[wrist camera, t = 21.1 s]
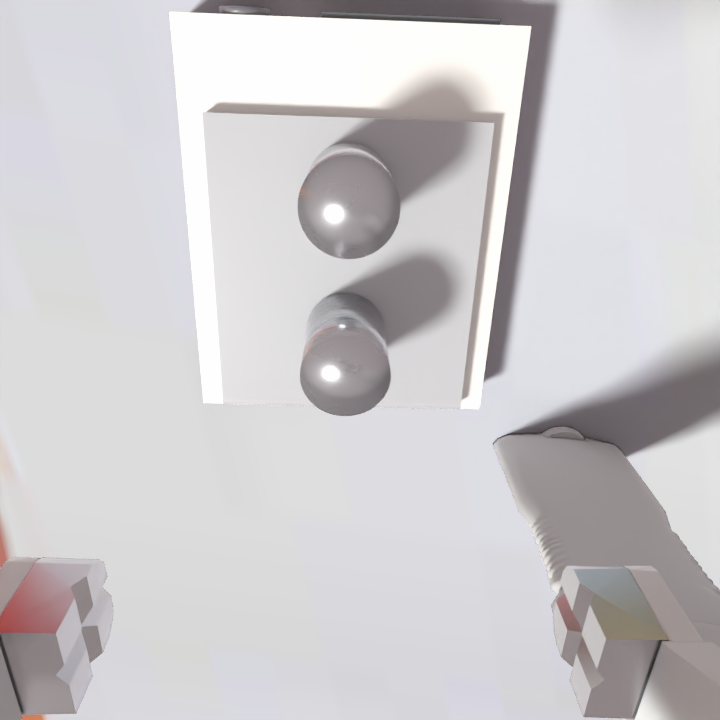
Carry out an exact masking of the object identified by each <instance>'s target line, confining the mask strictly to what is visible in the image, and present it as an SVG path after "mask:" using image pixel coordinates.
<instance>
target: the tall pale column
mask: <svg viewBox="0 0 720 720" xmlns="http://www.w3.org/2000/svg"><path fill="white" fill-rule="evenodd" d="M493 446H494V450H495V452H496V455H497V457H498V460H499V462H500V465H501V467H502V470H503V472H504V475H505V478H506V480H507V483H508V485H509V488H510V490H511V493H512V495H513V498H514V500H515V503H516V506H517V508H518V511H519V512H520V513H521V515H522V516H523V517H524V518H525V520H526V521H527V522H528V523H529V525H530V526H531V527H532V528H531V533H532V534H533V535H534V536H533V537H534V539H535V543H536V544H537V545H538V549H539V552H540V554H541V558H542V560H543V564H544V565H545V566H546V571H547V572H548V573H547V577H548V578H549V579H550V582H549V583H550V586H551V590H552V591H553V592H554V593H555V594H556V595H557V596H556V598H555V600H554V601H553V603H552V604H551V607H552V611H553V613H554V608H555V603H556V600H557V599H559V598H560V597H561V596H562V595H563V594H564V590H563V588H562V585H561V583H560V581H561V577H562V573H563V571H564V569H565V568H566V566H621V567H622V566H652V567H653V568H655V569H656V570H657V571H658V572H659V574H660V576H661V577H662V579H663V580H664V582H665V583H666V585H667V586H668V588H669V590H670V591H671V593H672V594H673V596H674V597H675V599H676V600H677V602H678V604H679V605H680V607H681V608H682V610H683V611H684V613H685V614H686V616H687V618H688V619H689V621H690V622H691V624H692V625H693V627H694V629H695V630H696V632H697V633H698V635H699V636H700V638H701V639H702V641H703V642H712V643H714V644H715V645H717V646H718V647H720V590H719V589H718V588H717V587H716V586H715V585H713V581H712V580H711V579H709V578H708V577H707V574H706V573H705V572H703V571H702V567H701V566H700V565H698V562H697V561H696V560H695V559H694V557H693V556H692V555H691V554H690V552H689V551H688V550H687V547H686V546H685V545H684V544H683V542H682V541H681V540H680V538H679V536H678V535H677V534H676V533H674V532H673V531H672V530H671V527H670V524H669V521H668V518H667V515H666V512H665V510H664V509H663V507H662V506H661V505H660V503H659V502H658V500H657V499H656V498H655V496H654V495H653V494H652V492H651V491H650V489H649V488H648V487H647V485H646V484H645V483H644V481H643V480H642V478H641V477H640V476H639V474H638V473H637V472H636V470H635V469H634V468H633V466H632V465H631V464H630V462H629V461H628V459H627V458H626V457H625V455H624V454H623V453H622V451H621V450H620V449H619V448H618V447H616V446H615V445H614V444H611V443H607V442H602V441H598V440H594V439H589V438H585V437H584V438H583V436H582V435H581V434H580V432H578V431H576V430H575V429H573V428H569V427H554V428H551V429H548V430H546V431H545V432H543V433H533V434H508V435H505V436H503V437H500V438H498V439H497V440H496V441H495V442H494V443H493ZM622 720H635V719H625V718H622Z"/></svg>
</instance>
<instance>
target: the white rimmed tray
mask: <svg viewBox="0 0 720 720" xmlns="http://www.w3.org/2000/svg"><path fill="white" fill-rule="evenodd" d="M169 15H170V27H171V38H172V50H173V61H174V73H175V84H176V95H177V107H178V118H179V130H180V141H181V152H182V164H183V175H184V187H185V198H186V210H187V221H188V232H189V244H190V255H191V267H192V278H193V290H194V301H195V312H196V324H197V335H198V347H199V358H200V369H201V381H202V392H203V403H223V404H238V405H283V406H315V405H314V404H312V403H311V402H310V400H309V399H308V398H307V397H306V395H305V393H304V391H303V389H302V386H301V382H300V369H301V362H302V355H303V348H304V341H305V334H306V326H307V321H308V317H309V315H310V313H311V311H312V309H313V308H314V307H315V306H316V305H317V304H318V303H319V302H320V301H321V300H323V299H324V298H326V297H328V296H331V295H333V294H337V293H353V294H357V295H360V296H362V297H364V298H366V299H368V300H369V301H371V302H372V303H373V304H374V305H375V306H376V307H377V309H378V310H379V312H380V314H381V316H382V319H383V323H384V330H385V336H386V343H387V350H388V356H389V363H390V370H391V381H390V386H389V389H388V391H387V393H386V395H385V396H384V398H383V399H382V400H381V401H380V402H379V403H378V404H377V405H376V406H375V407H373V408H417V409H480V402H481V395H482V388H483V380H484V373H485V365H486V358H487V351H488V343H489V336H490V329H491V321H492V314H493V307H494V299H495V292H496V284H497V277H498V270H499V262H500V255H501V248H502V240H503V233H504V225H505V218H506V211H507V203H508V196H509V189H510V181H511V174H512V166H513V159H514V152H515V144H516V137H517V130H518V122H519V115H520V107H521V100H522V93H523V85H524V78H525V71H526V63H527V56H528V49H529V41H530V34H531V26H515V25H500V21H501V19H492V18H467V17H442V16H418V15H393V14H368V13H344V12H322V18H316V17H291V16H271V15H270V9H268V8H264V7H256V6H243V5H223V6H219V14H216V13H191V12H169ZM343 142H355V143H359V144H363V145H365V146H368V147H369V148H371V149H373V150H374V151H375V152H377V153H378V154H379V155H380V156H381V157H382V159H383V160H384V161H385V163H386V165H387V167H388V169H389V171H390V173H391V176H392V178H393V180H394V183H395V185H396V187H397V190H398V193H399V197H400V217H399V221H398V225H397V227H396V230H395V231H394V233H393V235H392V237H391V238H390V239H389V241H388V242H387V243H386V244H385V245H384V246H383V247H382V248H380V249H379V250H378V251H376V252H374V253H373V254H370V255H368V256H365V257H362V258H357V259H341V258H337V257H333V256H330V255H328V254H326V253H324V252H322V251H321V250H319V249H318V248H317V247H316V246H315V245H313V244H312V242H311V241H310V240H309V239H308V238H307V236H306V235H305V233H304V231H303V229H302V227H301V224H300V221H299V216H298V197H299V193H300V189H301V187H302V184H303V182H304V180H305V178H306V176H307V174H308V171H309V169H310V167H311V165H312V163H313V162H314V160H315V159H316V158H317V156H318V155H319V154H320V153H321V152H323V151H324V150H325V149H327V148H328V147H330V146H333V145H335V144H338V143H343Z"/></svg>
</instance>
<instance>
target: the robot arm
mask: <svg viewBox="0 0 720 720" xmlns="http://www.w3.org/2000/svg"><path fill="white" fill-rule="evenodd" d="M106 578H107V572H106V568H105V564H104V562H103V561H101V560H99V559H73V558H47V557H42V558H30V557H12V558H11V559H9V560H7V561H6V562H5V563H4V564H3V565H2V567H1V568H0V720H21V719H22V715H32V714H33V715H34V714H76V713H77V711H78V708H79V706H80V704H81V702H82V699H83V697H84V695H85V692H86V690H87V688H88V686H89V683H90V681H91V679H92V671H91V666H90V662H92V661H93V660H94V659H95V658H97V657H98V656H99V655H100V654H102V653H103V651H104V649H105V646H106V644H107V641H108V639H109V635H110V631H111V626H112V621H113V603H112V598H111V595H110V594H109V593H108V592H107V591H106V590H105V589H104V588H102V587H103V584H104V582H105V580H106ZM560 583H561V585H562V588H563V590H564V594H563V595H562V596H561V597H560V598H559V599H557V600H556V603H555V608H554V613H553V625H554V635H555V639H556V644H557V647H558V650H559V652H560V655H561V657H562V658H563V659H564V660H565V661H566V662H567V663H569V664H570V665H571V666H572V667H573V669H572V673H571V677H570V683H571V685H572V688H573V691H574V693H575V696H576V698H577V701H578V704H579V706H580V709H581V712H582V714H583V717H598V718H625V719H635V720H720V647H718V646H717V645H715V644H714V643H712V642H703V641H702V639H701V638H700V636H699V635H698V633H697V632H696V630H695V629H694V627H693V625H692V624H691V622H690V621H689V619H688V618H687V616H686V614H685V613H684V611H683V610H682V608H681V607H680V605H679V604H678V602H677V600H676V599H675V597H674V596H673V594H672V593H671V591H670V590H669V588H668V586H667V585H666V583H665V582H664V580H663V579H662V577H661V576H660V574H659V572H658V571H657V570H656V569H655V568H653V567H652V566H622V567H621V566H566V568H565V569H564V571H563V573H562V577H561V581H560Z"/></svg>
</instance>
